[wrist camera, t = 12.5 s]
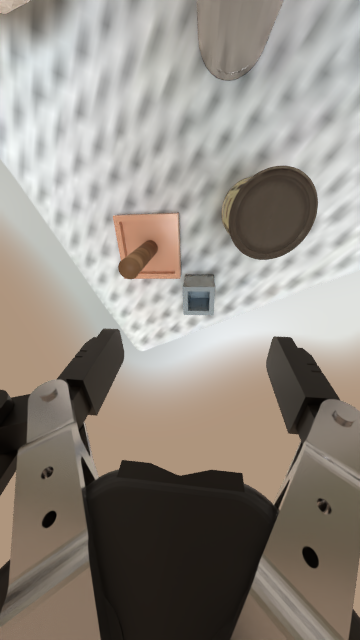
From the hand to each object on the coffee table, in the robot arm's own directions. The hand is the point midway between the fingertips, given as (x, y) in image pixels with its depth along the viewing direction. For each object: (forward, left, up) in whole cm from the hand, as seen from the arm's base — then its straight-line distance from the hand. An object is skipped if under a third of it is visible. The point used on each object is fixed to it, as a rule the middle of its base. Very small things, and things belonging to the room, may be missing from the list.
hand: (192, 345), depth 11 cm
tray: (+2, -10, -34) cm, 36 cm away
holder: (+11, 0, -34) cm, 36 cm away
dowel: (+2, -10, -33) cm, 35 cm away
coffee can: (-4, +9, -35) cm, 36 cm away
